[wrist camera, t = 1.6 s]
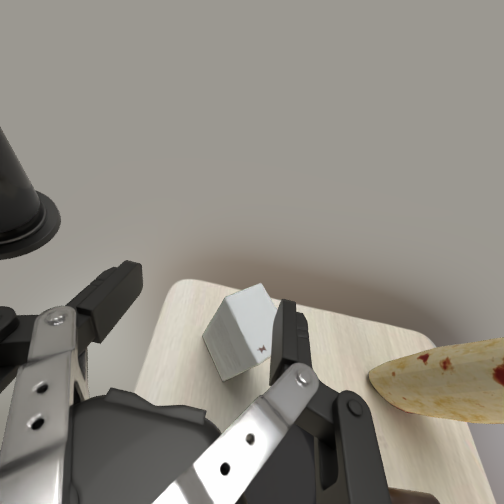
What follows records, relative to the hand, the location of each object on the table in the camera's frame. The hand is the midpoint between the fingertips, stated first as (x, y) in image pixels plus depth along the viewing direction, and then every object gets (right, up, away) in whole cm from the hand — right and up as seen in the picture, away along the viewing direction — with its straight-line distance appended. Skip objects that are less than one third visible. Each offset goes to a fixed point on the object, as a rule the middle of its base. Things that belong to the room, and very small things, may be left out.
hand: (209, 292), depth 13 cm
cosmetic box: (-1, -10, +16) cm, 19 cm away
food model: (+22, -18, +20) cm, 35 cm away
